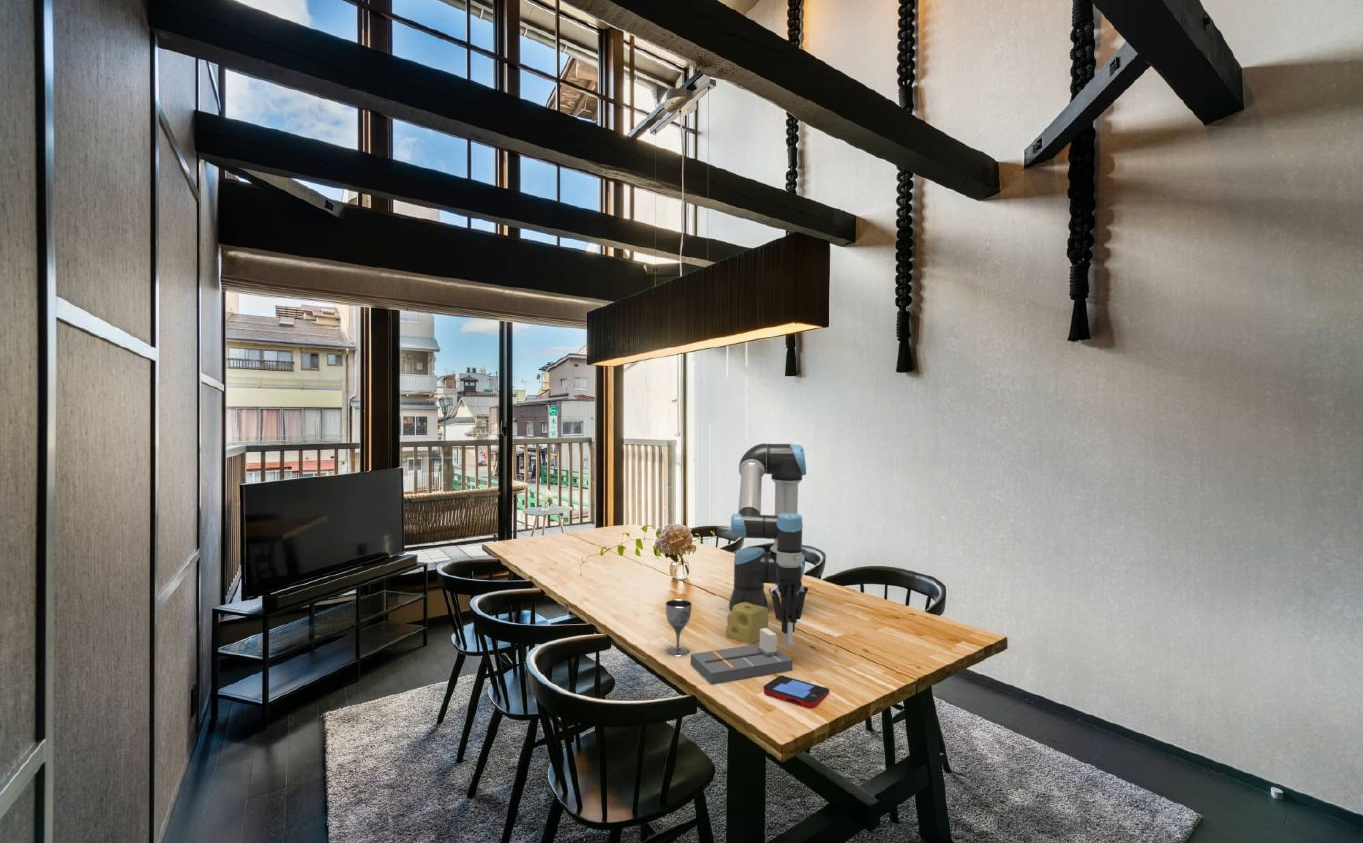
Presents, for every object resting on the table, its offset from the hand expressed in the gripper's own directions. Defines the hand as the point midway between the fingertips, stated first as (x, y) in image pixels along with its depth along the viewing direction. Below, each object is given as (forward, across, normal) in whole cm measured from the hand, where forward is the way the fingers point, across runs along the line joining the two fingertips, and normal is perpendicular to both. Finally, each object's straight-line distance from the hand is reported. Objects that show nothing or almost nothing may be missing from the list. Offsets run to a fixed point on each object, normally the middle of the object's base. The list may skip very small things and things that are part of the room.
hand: (787, 643), depth 169 cm
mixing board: (+5, -16, 0) cm, 17 cm away
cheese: (+5, -2, +21) cm, 22 cm away
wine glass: (+5, -29, +17) cm, 34 cm away
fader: (+2, -7, 0) cm, 7 cm away
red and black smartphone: (+6, -10, -19) cm, 22 cm away
